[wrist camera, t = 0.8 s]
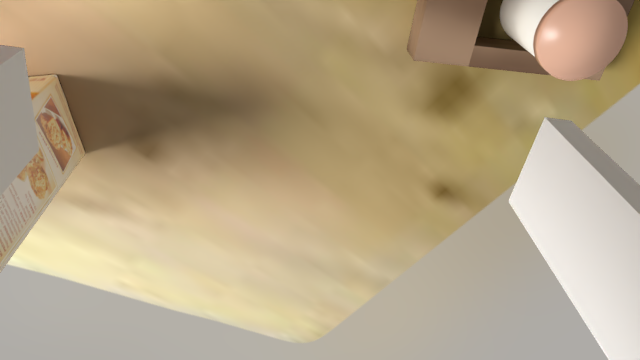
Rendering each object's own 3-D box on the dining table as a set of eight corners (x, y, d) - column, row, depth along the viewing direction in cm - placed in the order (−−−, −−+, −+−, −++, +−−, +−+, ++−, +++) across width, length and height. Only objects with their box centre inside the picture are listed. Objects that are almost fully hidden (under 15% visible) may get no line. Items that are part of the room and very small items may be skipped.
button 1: (510, -35, 32) (558, -12, 26) (581, -26, 33) (643, -1, 27) (487, 40, 35) (526, 76, 29) (553, 47, 35) (605, 84, 29)
